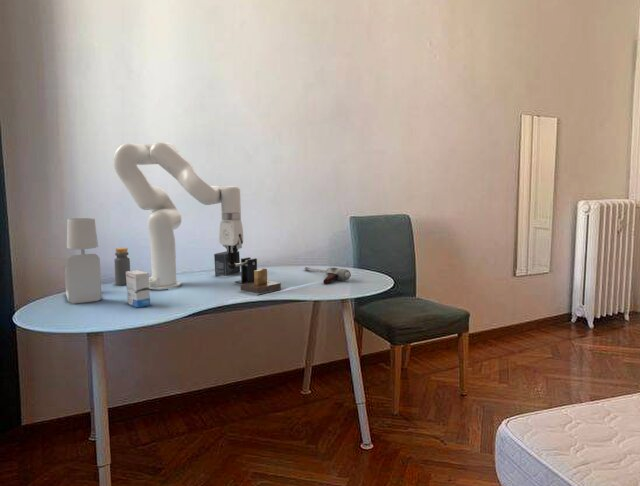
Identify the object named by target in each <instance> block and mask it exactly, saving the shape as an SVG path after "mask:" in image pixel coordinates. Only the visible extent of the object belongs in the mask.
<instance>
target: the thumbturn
mask: <svg viewBox="0 0 640 486" xmlns="http://www.w3.org/2000/svg"><path fill="white" fill-rule="evenodd" d="M267 280H268V269H267V268H263V267H262V268H260V269H257V270H254V284H256V285H260V284H264V283H267Z"/></svg>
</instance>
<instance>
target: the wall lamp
mask: <svg viewBox="0 0 640 486" xmlns="http://www.w3.org/2000/svg"><path fill="white" fill-rule="evenodd" d="M66 226H67V227H66V228H67V229H66V237H67V238H66V249H67V250H80V254H72V255H71V254H70V255H69V256H68V257H67V258H66V267H65V269H64V283H65V284H64V285H65V286H64V287H65V296H66V298H67V302H68V303H71V304H81V303H91V302H98V301H100V300H101V299H102V297H103V296H102V295H103V294H102V277H101V259H100V257H99V255H98V254H96V253H86V251H85V250H90V249H96V248H98V247H99V243H98V235H97V227H96V226H97V225H96V219H95V218H94V217H75V218H74V217H73V218H67V225H66Z"/></svg>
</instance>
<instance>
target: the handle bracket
mask: <svg viewBox="0 0 640 486" xmlns="http://www.w3.org/2000/svg"><path fill="white" fill-rule="evenodd" d="M245 260H247V266H245V265H242V266H240V279H241V280H236V281H235V280H234V283H235V284H239V285H241V284H246V283H250V282H254V270H258V258H256V257H255V258H251V257H249V256H248V257H240V263H243V262H245Z"/></svg>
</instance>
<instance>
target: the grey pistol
mask: <svg viewBox="0 0 640 486" xmlns="http://www.w3.org/2000/svg"><path fill="white" fill-rule="evenodd" d="M304 271H307V272H315V273H323V274H325V275H326V276H325V278H324V279H323V284H325V285H326V284H327V285H328V284H331V283H332V281H334V280H341V281H347V280H349V279H350V278H351V277H352V273H351V271H350V270H349V269H346V268H341V267H328V268H326V269H319V268H313V267H308V266H306V267H304Z"/></svg>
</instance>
